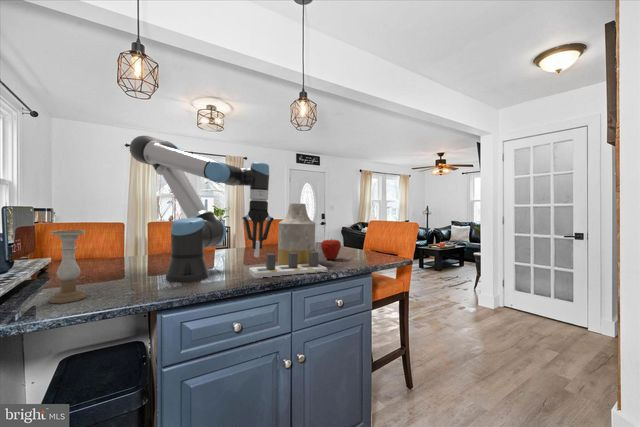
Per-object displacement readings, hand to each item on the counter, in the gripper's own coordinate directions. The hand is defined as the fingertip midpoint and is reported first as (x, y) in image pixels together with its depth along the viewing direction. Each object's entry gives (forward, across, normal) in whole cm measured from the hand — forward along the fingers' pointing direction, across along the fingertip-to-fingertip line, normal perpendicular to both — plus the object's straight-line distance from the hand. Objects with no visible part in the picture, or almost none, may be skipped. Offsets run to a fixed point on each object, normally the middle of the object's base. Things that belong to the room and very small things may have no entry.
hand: (256, 256), depth 124 cm
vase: (+8, +24, +16) cm, 30 cm away
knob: (+5, +26, -1) cm, 26 cm away
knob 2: (+5, +16, 0) cm, 17 cm away
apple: (+7, +46, +21) cm, 51 cm away
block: (+5, +6, 0) cm, 8 cm away
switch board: (+7, +14, 0) cm, 16 cm away
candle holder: (+9, -59, -12) cm, 61 cm away
